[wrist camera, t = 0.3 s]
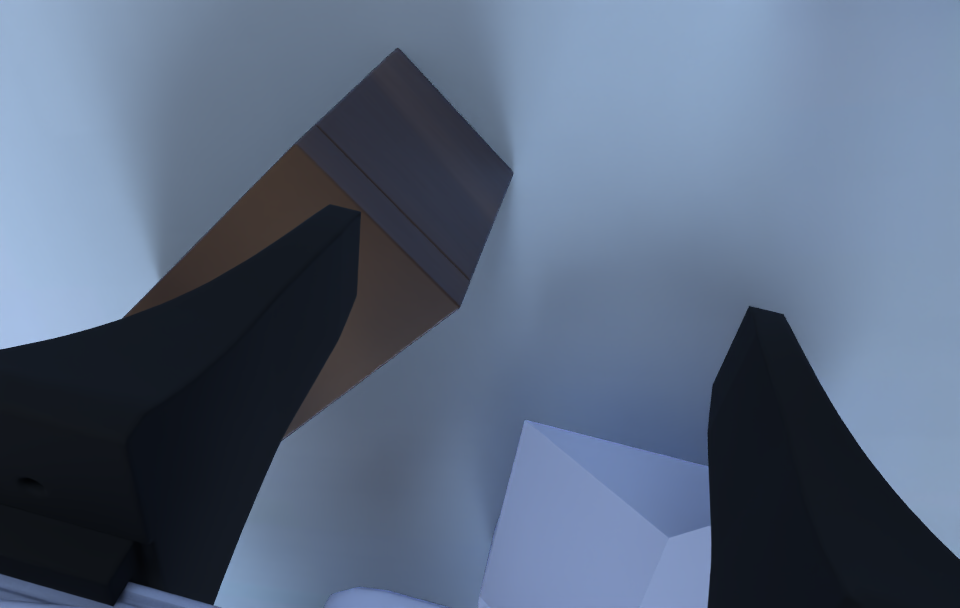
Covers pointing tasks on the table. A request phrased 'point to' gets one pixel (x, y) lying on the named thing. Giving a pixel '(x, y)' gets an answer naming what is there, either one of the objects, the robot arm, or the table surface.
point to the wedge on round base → (599, 527)
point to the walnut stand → (370, 217)
